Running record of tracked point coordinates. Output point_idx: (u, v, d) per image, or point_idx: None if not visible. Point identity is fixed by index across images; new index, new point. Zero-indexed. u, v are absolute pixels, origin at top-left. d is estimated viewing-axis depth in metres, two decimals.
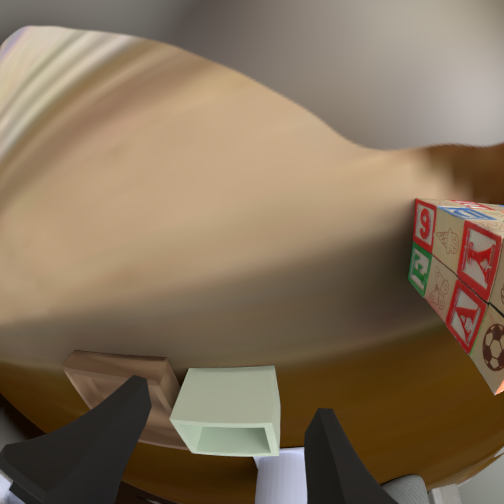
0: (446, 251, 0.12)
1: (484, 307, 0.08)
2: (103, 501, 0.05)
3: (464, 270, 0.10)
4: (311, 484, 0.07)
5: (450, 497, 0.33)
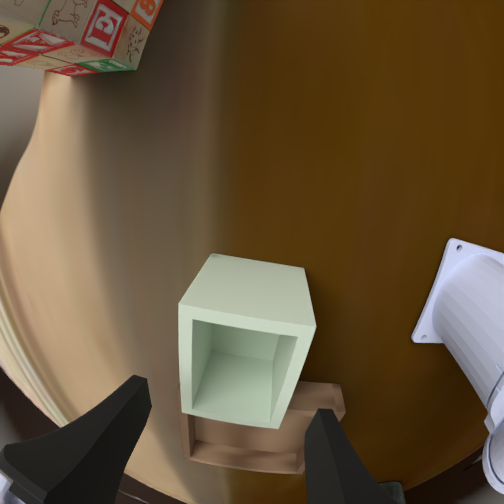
0: (47, 61, 0.08)
1: (2, 46, 0.04)
2: (103, 501, 0.05)
3: (29, 54, 0.07)
4: (311, 484, 0.07)
5: None
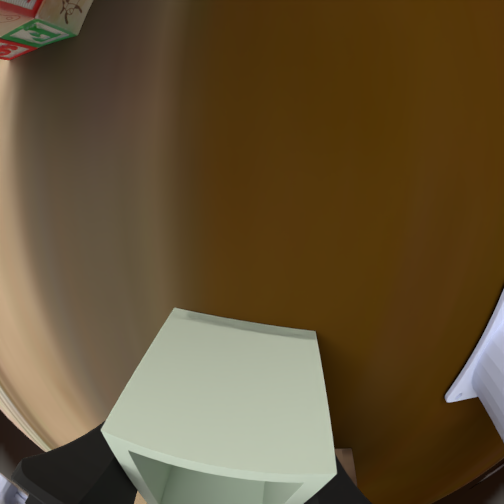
0: None
1: None
2: None
3: None
4: None
5: None
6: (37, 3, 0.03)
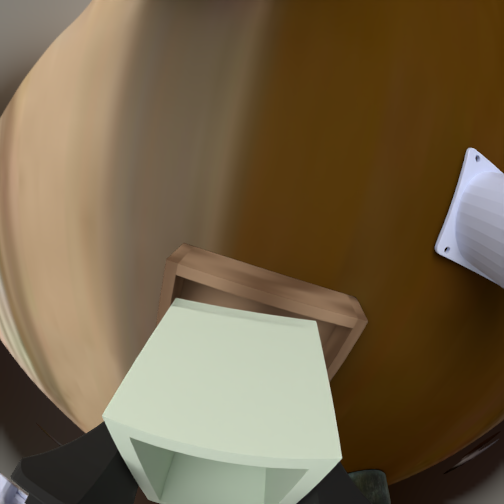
0: None
1: None
2: None
3: None
4: None
5: None
6: None
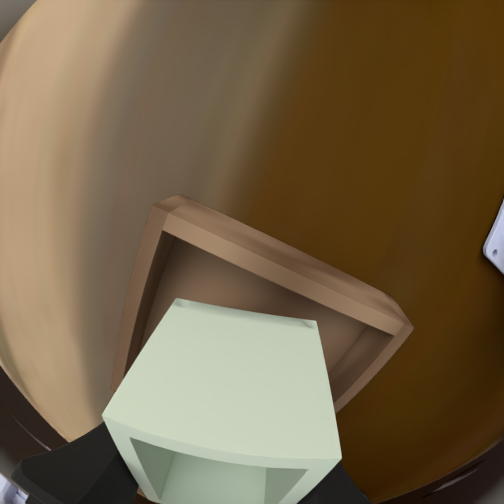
0: None
1: None
2: None
3: None
4: None
5: None
6: None
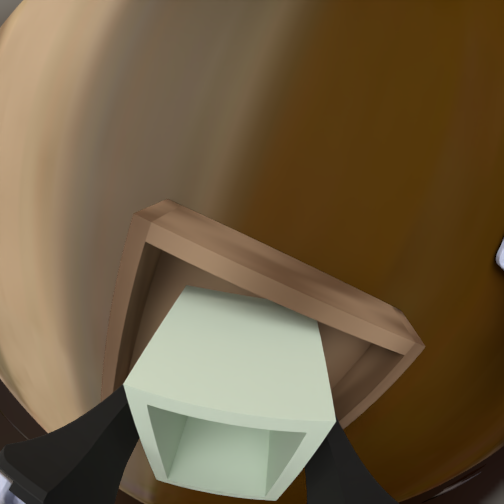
0: None
1: None
2: (103, 501, 0.05)
3: None
4: (311, 484, 0.07)
5: None
6: None
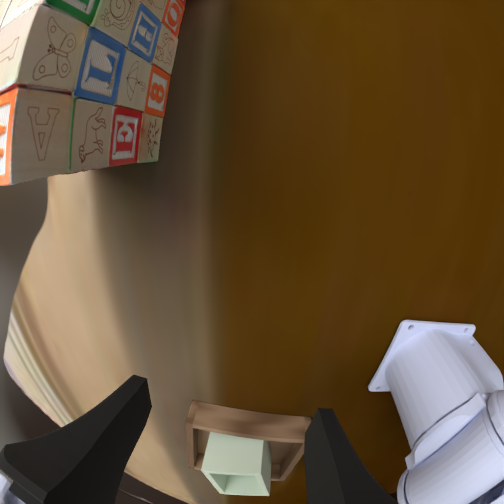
0: None
1: None
2: (103, 501, 0.05)
3: None
4: (311, 484, 0.07)
5: None
6: (135, 151, 0.13)
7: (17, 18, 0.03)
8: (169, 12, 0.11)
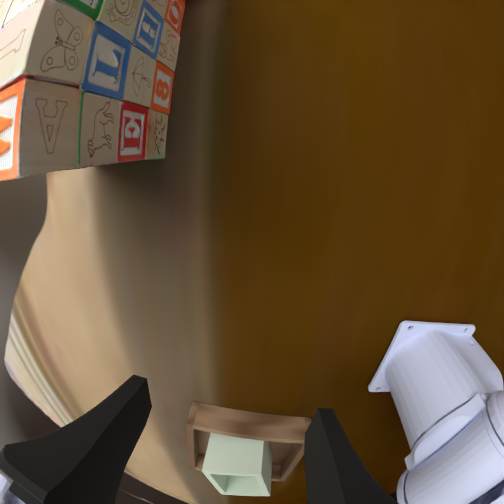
0: None
1: None
2: (103, 501, 0.05)
3: None
4: (311, 484, 0.07)
5: None
6: (143, 148, 0.13)
7: (21, 12, 0.03)
8: (170, 9, 0.11)
